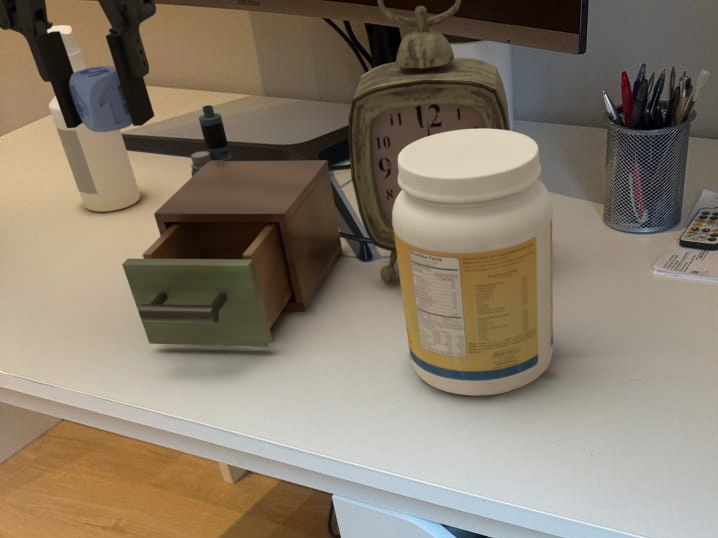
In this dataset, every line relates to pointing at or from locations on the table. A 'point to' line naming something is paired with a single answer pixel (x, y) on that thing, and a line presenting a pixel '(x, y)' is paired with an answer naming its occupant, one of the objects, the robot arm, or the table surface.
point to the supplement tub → (475, 260)
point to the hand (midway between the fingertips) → (110, 121)
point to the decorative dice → (100, 99)
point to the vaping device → (211, 140)
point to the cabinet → (269, 212)
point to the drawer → (212, 283)
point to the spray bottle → (94, 151)
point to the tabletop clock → (414, 115)
